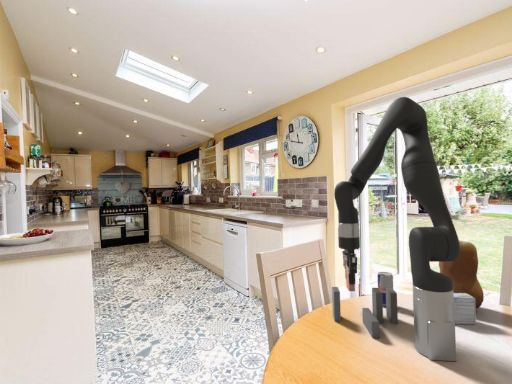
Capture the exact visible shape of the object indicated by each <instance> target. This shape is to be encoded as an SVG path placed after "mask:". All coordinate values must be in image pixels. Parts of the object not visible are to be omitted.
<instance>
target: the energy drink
mask: <svg viewBox="0 0 512 384" xmlns="http://www.w3.org/2000/svg"><path fill="white" fill-rule="evenodd" d="M377 288H379V290H380V291H381V292H382V298H383V308H386V288H392V289H393V290H394V275H393V273H392V272H388V271H378V272H377Z"/></svg>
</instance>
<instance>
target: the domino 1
mask: <svg viewBox="0 0 512 384" xmlns="http://www.w3.org/2000/svg"><path fill="white" fill-rule="evenodd" d="M331 294H332V295H331V301H332V302H331V303H332V305H331V307H332V316H333V321H334V322H337V323H339V322H342V318H341V315H342V314H341V313H342V312H341V290H340V289H339V286H331Z"/></svg>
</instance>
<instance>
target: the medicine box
mask: <svg viewBox="0 0 512 384" xmlns="http://www.w3.org/2000/svg"><path fill="white" fill-rule="evenodd" d="M453 298H454V324H455V325H476V324H477V320H476V319H477V318H476V312H477V311H476V310H477V309H475V298H474V297H472V296H470V295H469V294H467V293H453Z"/></svg>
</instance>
